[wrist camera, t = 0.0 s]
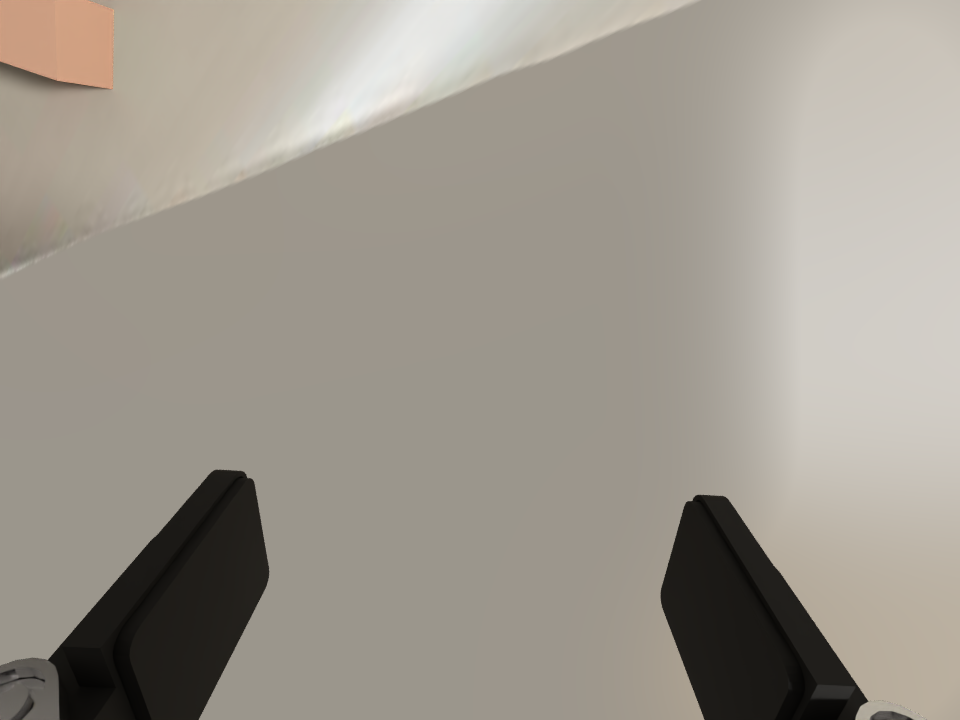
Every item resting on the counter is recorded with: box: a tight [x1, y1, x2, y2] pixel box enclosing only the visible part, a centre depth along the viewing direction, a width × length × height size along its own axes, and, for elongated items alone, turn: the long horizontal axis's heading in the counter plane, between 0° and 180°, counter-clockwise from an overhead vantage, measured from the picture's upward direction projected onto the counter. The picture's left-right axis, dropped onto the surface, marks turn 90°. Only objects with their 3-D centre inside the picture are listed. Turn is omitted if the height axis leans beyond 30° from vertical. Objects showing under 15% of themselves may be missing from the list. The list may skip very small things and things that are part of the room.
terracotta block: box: [0, 0, 114, 89], centre depth 31 cm, size 5×5×5 cm
